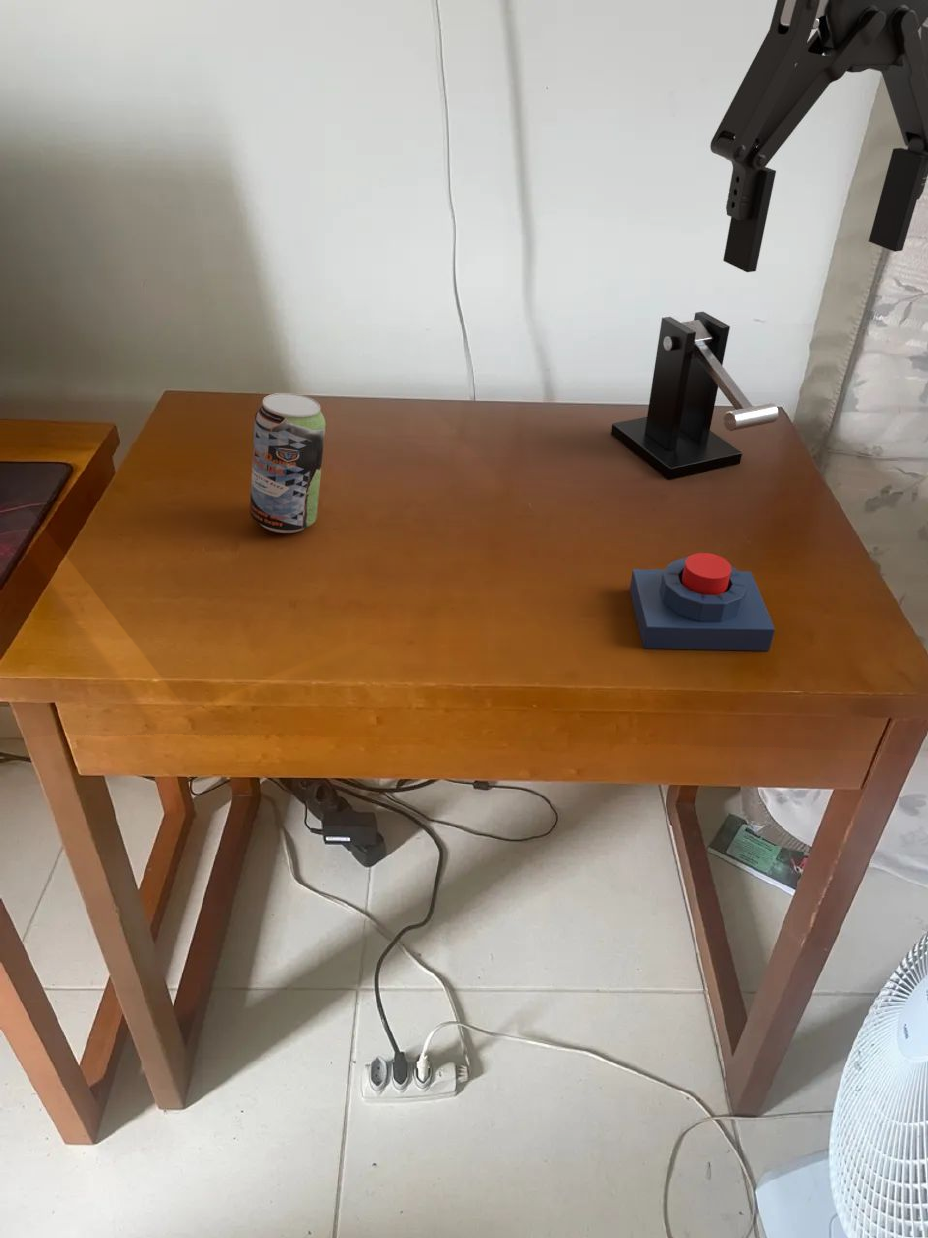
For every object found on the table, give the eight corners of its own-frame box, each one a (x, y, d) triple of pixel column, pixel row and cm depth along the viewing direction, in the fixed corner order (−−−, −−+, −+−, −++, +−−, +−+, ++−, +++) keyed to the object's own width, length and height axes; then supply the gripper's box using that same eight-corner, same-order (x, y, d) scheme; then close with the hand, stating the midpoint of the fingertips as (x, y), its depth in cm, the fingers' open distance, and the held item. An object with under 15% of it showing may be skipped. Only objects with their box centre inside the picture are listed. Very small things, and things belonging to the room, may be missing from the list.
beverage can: (240, 519, 91) (224, 398, 84) (309, 496, 95) (300, 379, 87) (272, 550, 87) (259, 425, 80) (343, 524, 91) (337, 404, 83)
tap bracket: (740, 463, 102) (768, 335, 94) (668, 480, 99) (691, 348, 91) (678, 420, 110) (700, 298, 102) (610, 434, 107) (626, 309, 99)
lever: (771, 428, 94) (782, 409, 92) (729, 437, 92) (739, 418, 90) (701, 336, 100) (710, 317, 98) (660, 343, 98) (668, 323, 96)
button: (722, 571, 80) (726, 553, 79) (731, 597, 77) (736, 578, 76) (677, 570, 80) (681, 552, 79) (686, 596, 77) (689, 577, 76)
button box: (746, 592, 84) (755, 553, 81) (769, 651, 77) (780, 610, 75) (629, 589, 84) (635, 550, 81) (643, 649, 77) (650, 608, 75)
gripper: (998, -105, 66) (904, 225, 78) (691, -115, 57) (641, 258, 70) (1098, -102, 60) (979, 252, 73) (776, -112, 51) (705, 292, 64)
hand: (814, 256), depth 71 cm, fingers open, 13 cm apart
